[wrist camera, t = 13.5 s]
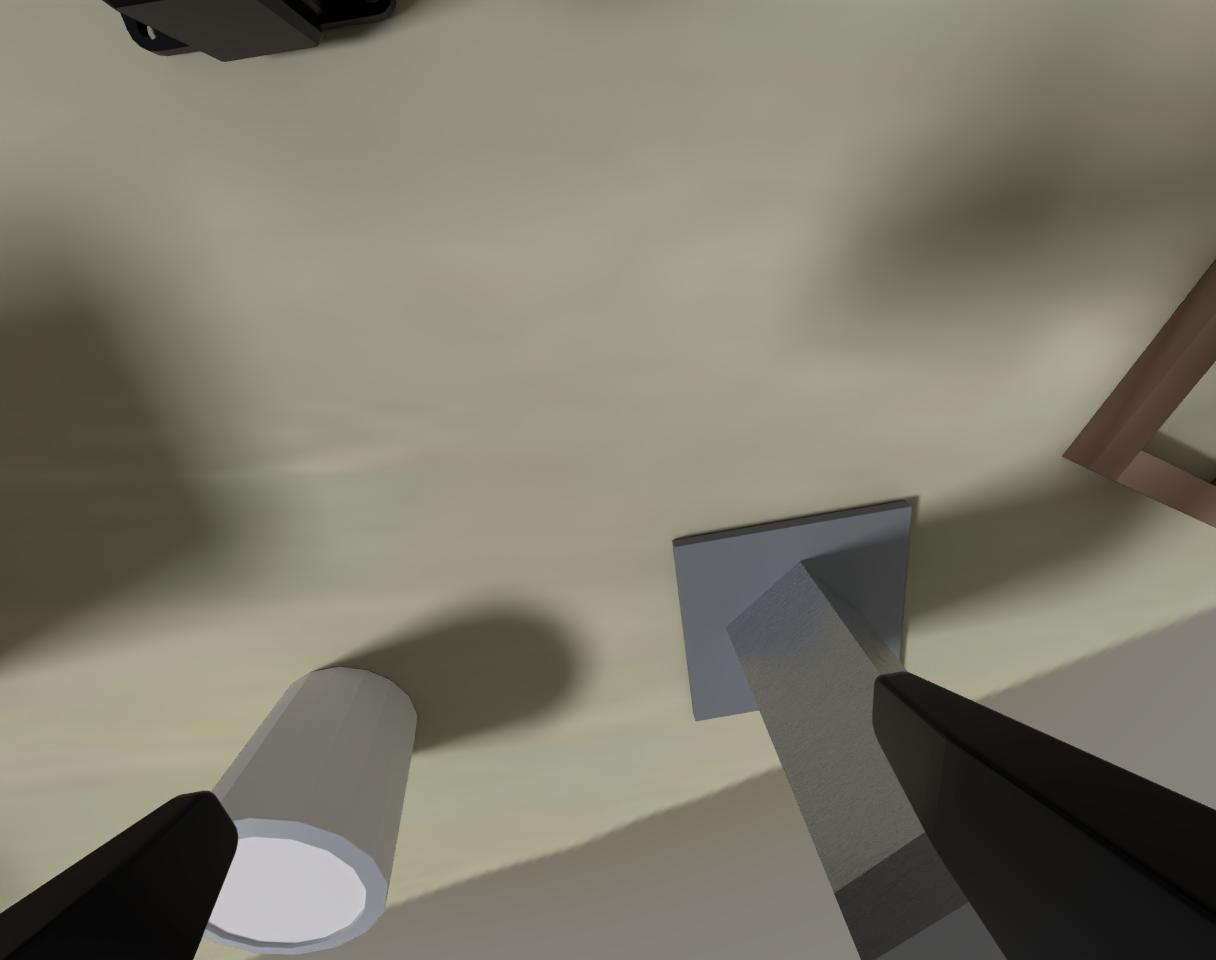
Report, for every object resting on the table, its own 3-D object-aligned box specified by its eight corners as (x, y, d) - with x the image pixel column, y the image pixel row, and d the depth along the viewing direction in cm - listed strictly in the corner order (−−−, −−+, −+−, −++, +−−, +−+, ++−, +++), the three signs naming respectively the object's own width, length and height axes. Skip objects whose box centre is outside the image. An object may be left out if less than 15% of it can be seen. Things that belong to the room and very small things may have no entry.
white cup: (466, 713, 24) (432, 885, 18) (367, 797, 26) (304, 982, 20) (328, 625, 22) (234, 788, 16) (229, 723, 24) (107, 906, 17)
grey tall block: (725, 627, 23) (863, 966, 12) (799, 560, 22) (1018, 870, 11) (789, 673, 24) (964, 1017, 14) (862, 613, 23) (1112, 935, 13)
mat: (672, 540, 22) (674, 547, 21) (904, 500, 22) (912, 506, 21) (693, 712, 25) (695, 721, 25) (891, 677, 25) (897, 686, 25)
